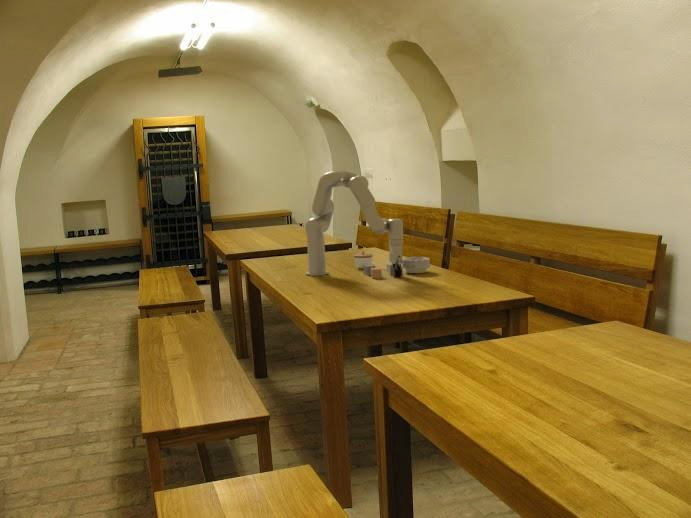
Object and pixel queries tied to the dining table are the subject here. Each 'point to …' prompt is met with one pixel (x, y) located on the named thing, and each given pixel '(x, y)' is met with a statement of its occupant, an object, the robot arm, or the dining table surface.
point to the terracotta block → (376, 273)
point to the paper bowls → (416, 264)
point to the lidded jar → (363, 259)
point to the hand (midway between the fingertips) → (396, 275)
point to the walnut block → (394, 271)
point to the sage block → (389, 267)
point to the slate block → (368, 269)
